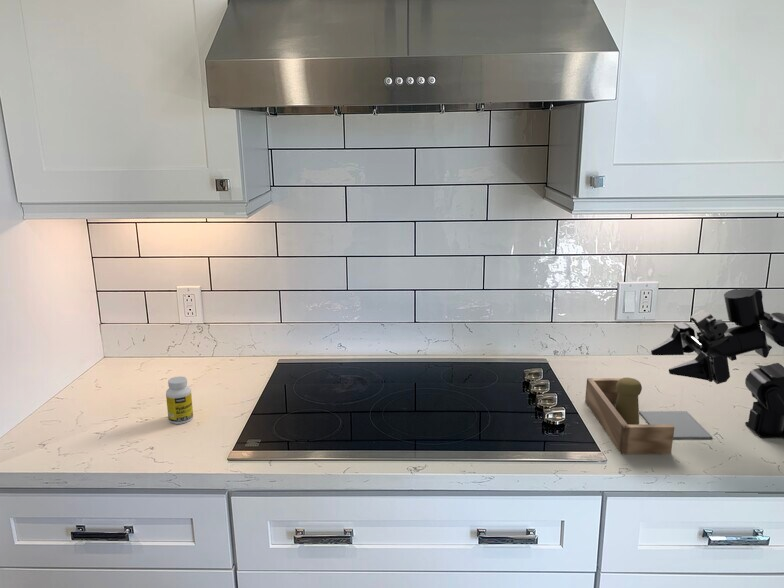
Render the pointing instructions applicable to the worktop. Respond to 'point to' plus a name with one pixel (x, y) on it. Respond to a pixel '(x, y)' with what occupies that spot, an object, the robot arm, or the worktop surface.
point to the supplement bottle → (179, 401)
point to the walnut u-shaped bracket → (624, 435)
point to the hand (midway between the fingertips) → (660, 361)
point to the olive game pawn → (628, 400)
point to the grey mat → (677, 423)
